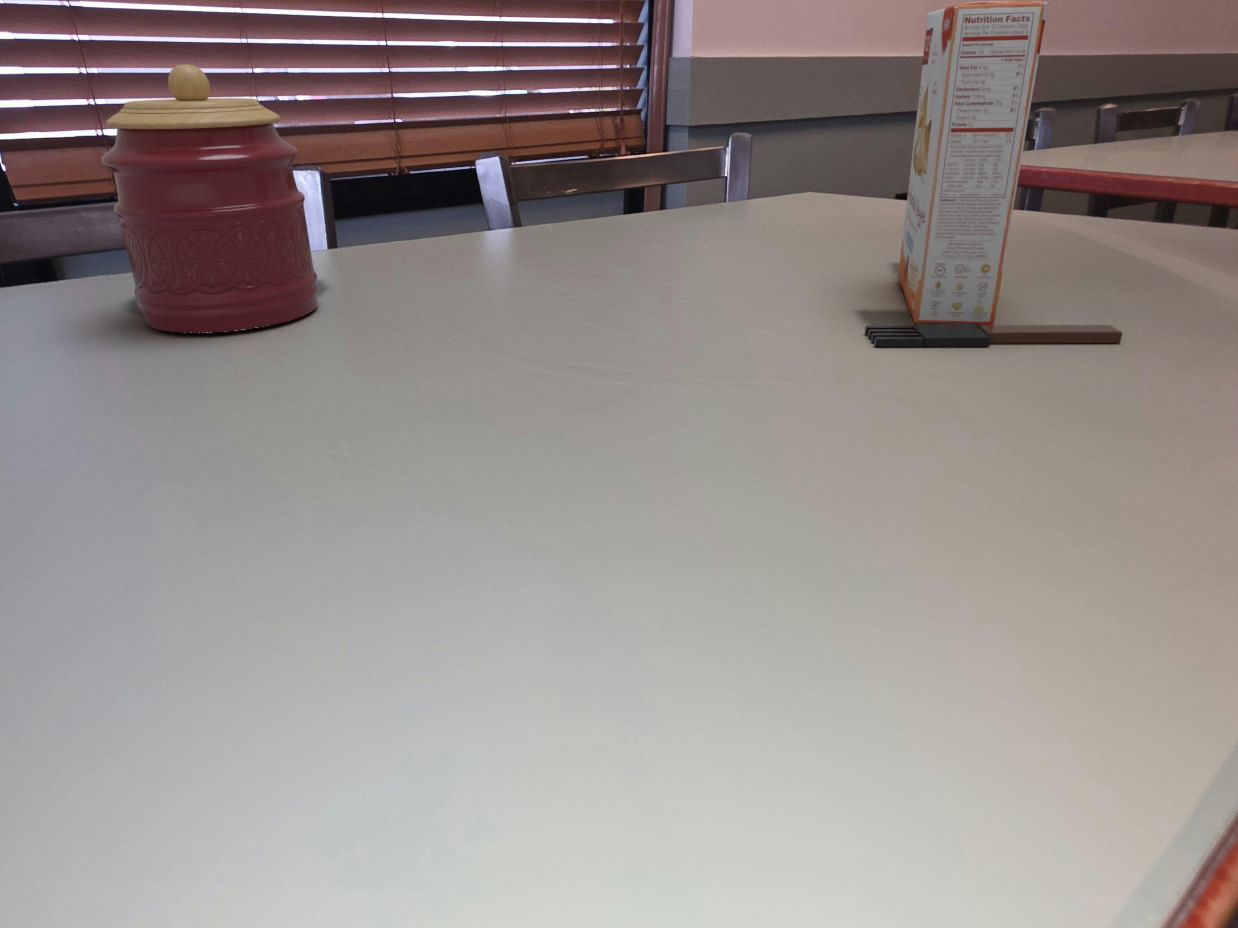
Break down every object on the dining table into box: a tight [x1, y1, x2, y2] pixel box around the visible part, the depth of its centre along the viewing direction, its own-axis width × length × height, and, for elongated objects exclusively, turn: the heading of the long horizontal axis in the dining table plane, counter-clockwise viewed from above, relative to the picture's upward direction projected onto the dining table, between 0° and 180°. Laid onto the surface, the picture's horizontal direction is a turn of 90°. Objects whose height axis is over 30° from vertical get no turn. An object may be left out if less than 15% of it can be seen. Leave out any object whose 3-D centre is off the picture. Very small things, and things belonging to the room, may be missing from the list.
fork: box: [864, 323, 1123, 348], centre depth 59 cm, size 17×3×1 cm, turn 89°
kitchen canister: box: [101, 63, 320, 334], centre depth 64 cm, size 13×13×18 cm
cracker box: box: [897, 0, 1048, 326], centre depth 64 cm, size 14×6×21 cm, turn 168°
